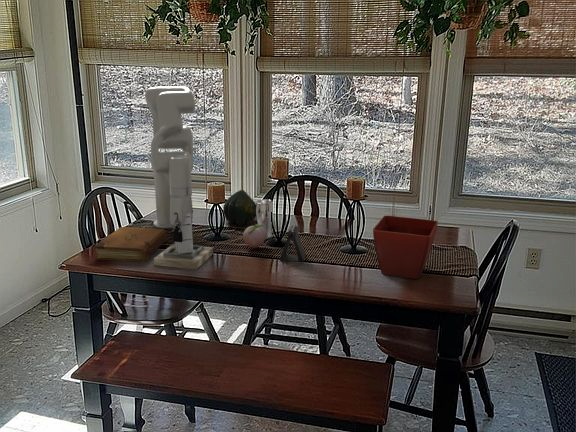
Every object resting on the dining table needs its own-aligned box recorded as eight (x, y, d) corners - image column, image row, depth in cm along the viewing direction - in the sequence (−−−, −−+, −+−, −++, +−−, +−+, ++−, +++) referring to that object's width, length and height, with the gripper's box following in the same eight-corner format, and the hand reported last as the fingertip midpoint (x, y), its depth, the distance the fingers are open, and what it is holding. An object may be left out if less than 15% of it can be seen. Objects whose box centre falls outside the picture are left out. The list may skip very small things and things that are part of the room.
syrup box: (193, 252, 210) (192, 213, 206) (177, 254, 208) (175, 215, 204) (190, 247, 215) (188, 209, 211) (174, 249, 213) (172, 211, 209)
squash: (225, 218, 243) (246, 189, 245) (212, 210, 256) (232, 183, 258) (249, 235, 250) (269, 207, 252) (235, 227, 263) (254, 201, 265)
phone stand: (305, 256, 216) (306, 226, 212) (303, 262, 210) (304, 231, 206) (282, 255, 217) (282, 224, 214) (279, 260, 211) (279, 229, 208)
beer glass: (274, 234, 240) (274, 199, 236) (272, 240, 233) (271, 204, 229) (257, 233, 241) (257, 198, 236) (254, 239, 234) (254, 203, 230)
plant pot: (382, 258, 215) (384, 214, 210) (434, 265, 208) (438, 220, 203) (369, 276, 198) (372, 229, 193) (426, 285, 191) (430, 236, 186)
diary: (145, 263, 209) (143, 248, 208) (95, 261, 212) (94, 246, 210) (166, 242, 231) (165, 228, 229) (121, 240, 234) (120, 226, 232)
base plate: (173, 249, 221) (173, 240, 220) (213, 253, 218) (212, 244, 217) (154, 264, 207) (153, 255, 206) (196, 269, 203) (195, 259, 202)
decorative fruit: (249, 243, 229) (248, 219, 227) (268, 245, 227) (268, 221, 224) (239, 250, 221) (239, 225, 218) (259, 253, 218) (259, 228, 215)
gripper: (181, 184, 214) (183, 229, 219) (160, 196, 198) (163, 244, 203) (200, 185, 212) (202, 231, 217) (180, 198, 196) (182, 246, 201)
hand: (183, 237), depth 210 cm, fingers closed on syrup box, 8 cm apart
